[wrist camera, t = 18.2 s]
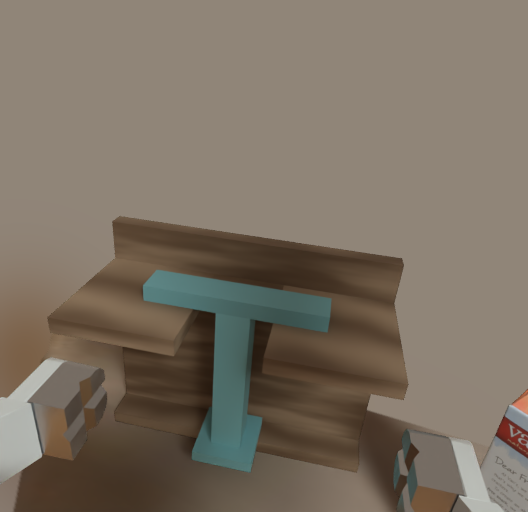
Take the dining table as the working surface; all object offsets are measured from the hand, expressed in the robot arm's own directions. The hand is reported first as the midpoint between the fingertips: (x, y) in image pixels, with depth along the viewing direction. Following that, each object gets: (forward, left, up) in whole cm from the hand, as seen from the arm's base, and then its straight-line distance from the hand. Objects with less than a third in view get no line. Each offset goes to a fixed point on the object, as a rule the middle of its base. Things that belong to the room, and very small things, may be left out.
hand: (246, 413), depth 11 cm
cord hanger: (-14, -18, -29) cm, 37 cm away
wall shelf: (-14, -18, -32) cm, 39 cm away
